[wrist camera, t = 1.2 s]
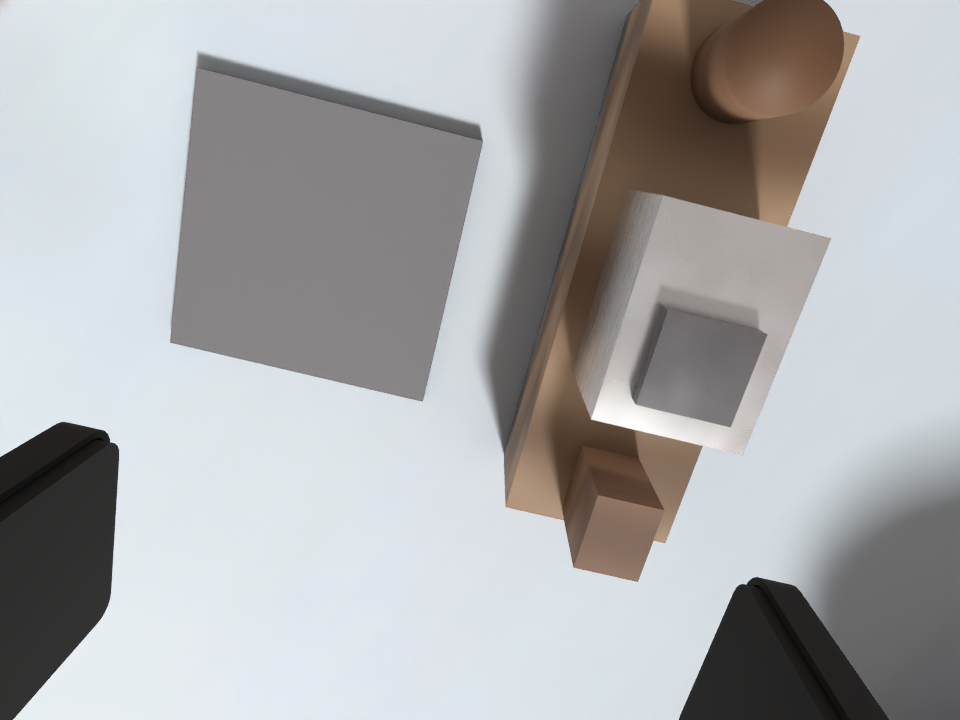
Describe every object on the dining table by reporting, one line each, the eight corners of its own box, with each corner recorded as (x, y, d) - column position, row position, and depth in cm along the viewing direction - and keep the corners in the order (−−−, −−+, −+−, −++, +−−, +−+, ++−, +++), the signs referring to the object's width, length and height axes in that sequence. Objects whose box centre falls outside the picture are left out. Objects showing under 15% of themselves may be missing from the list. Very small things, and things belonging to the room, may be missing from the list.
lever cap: (694, 399, 25) (750, 463, 19) (572, 369, 24) (594, 427, 19) (759, 223, 23) (842, 240, 17) (626, 189, 22) (669, 196, 17)
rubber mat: (423, 397, 30) (422, 401, 30) (176, 339, 30) (170, 342, 29) (482, 141, 27) (482, 141, 26) (203, 69, 26) (196, 67, 25)
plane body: (638, 485, 31) (693, 606, 23) (503, 454, 31) (507, 565, 22) (791, 60, 25) (943, 6, 17) (626, 15, 25) (696, -63, 16)
